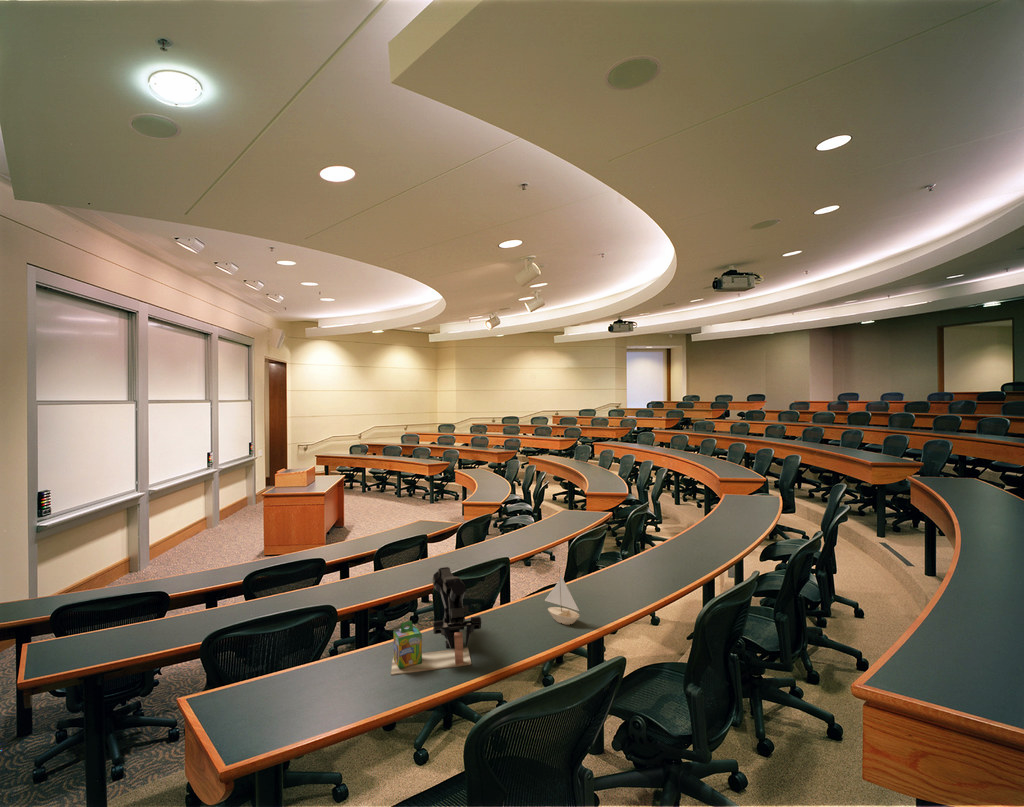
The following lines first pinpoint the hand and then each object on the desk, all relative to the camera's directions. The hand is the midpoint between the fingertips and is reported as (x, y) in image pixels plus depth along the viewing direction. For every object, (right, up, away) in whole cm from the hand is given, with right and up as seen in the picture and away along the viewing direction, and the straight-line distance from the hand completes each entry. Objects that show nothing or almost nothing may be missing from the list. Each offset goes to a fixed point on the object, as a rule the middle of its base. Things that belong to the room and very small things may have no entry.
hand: (459, 647), depth 184 cm
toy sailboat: (+44, -8, +39) cm, 59 cm away
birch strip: (-11, -8, +4) cm, 14 cm away
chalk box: (-20, -8, +4) cm, 22 cm away
